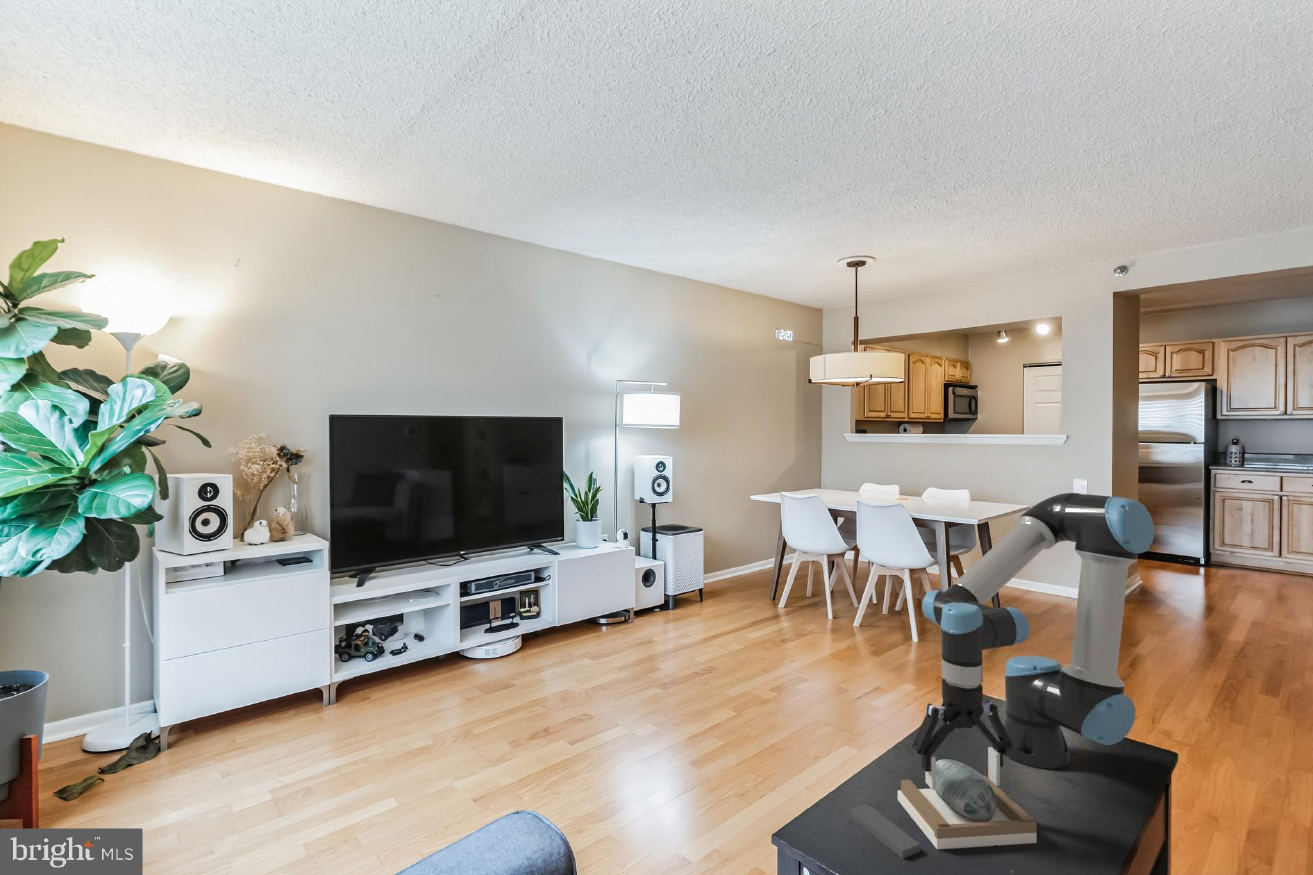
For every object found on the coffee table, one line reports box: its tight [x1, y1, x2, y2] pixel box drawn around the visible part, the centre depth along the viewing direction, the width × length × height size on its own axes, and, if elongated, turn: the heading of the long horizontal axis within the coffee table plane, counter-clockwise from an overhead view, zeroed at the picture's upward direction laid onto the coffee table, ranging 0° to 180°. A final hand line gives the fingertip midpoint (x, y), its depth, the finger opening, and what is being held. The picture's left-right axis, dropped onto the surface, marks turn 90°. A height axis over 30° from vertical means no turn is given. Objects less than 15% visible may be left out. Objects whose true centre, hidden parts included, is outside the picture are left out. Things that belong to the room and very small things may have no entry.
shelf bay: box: [897, 775, 1038, 850], centre depth 127 cm, size 20×16×4 cm
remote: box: [849, 803, 921, 860], centre depth 123 cm, size 4×14×2 cm, turn 25°
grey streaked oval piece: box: [935, 758, 996, 822], centre depth 128 cm, size 14×10×10 cm
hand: (962, 784), depth 128 cm, fingers open, 13 cm apart
